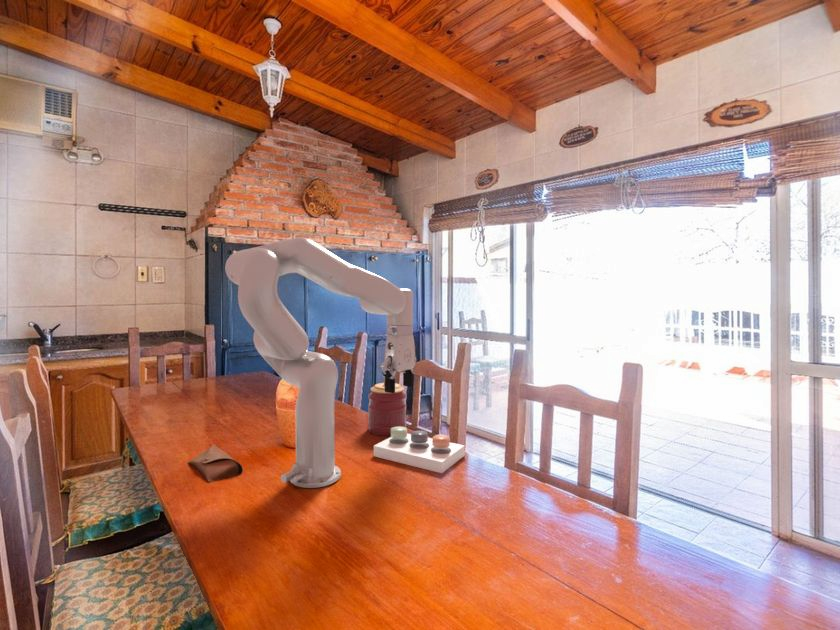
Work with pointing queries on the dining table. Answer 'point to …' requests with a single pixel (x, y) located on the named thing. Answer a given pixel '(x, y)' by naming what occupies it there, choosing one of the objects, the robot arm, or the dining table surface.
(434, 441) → the terracotta button
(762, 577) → the dining table surface
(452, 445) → the panel
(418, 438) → the charcoal button
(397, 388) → the canister
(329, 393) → the robot arm
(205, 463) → the sunglasses case
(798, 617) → the dining table surface
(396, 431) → the sage button
